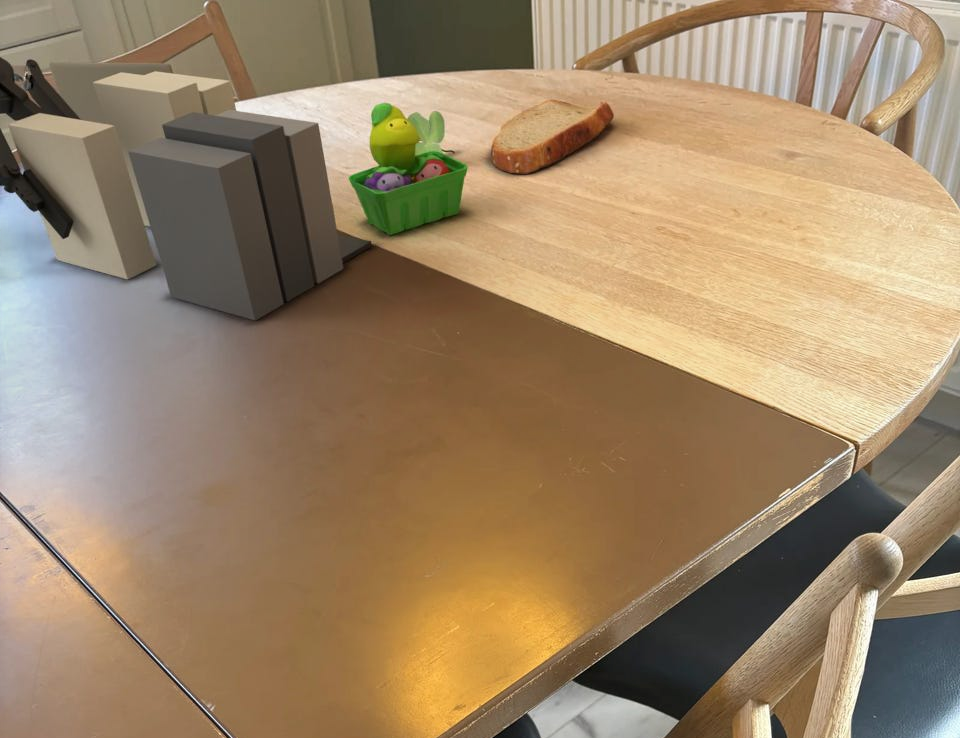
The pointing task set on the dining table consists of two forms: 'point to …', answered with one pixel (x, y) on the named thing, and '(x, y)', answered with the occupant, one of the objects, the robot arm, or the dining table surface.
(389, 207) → the fruit basket
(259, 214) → the grey books
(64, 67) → the laptop
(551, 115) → the bread slice
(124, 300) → the dining table surface
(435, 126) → the seedling
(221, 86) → the white books
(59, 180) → the white book
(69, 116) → the robot arm
